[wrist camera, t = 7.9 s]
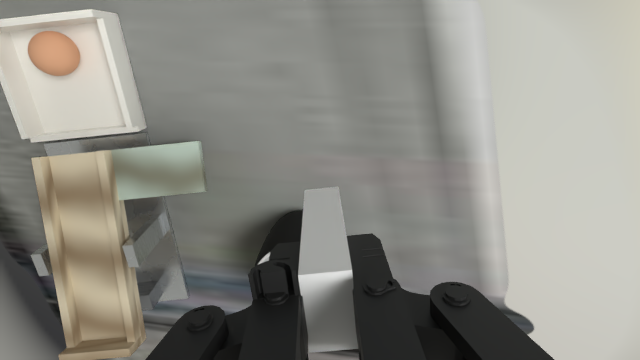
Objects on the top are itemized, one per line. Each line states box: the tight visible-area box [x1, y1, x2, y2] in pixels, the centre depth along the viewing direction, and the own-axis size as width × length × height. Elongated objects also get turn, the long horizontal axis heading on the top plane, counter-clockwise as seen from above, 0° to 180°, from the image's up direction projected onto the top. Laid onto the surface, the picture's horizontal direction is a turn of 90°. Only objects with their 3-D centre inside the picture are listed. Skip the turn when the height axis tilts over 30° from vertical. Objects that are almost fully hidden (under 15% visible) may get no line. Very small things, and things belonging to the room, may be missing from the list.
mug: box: [255, 211, 303, 266], centre depth 40 cm, size 12×9×10 cm
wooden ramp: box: [31, 141, 207, 360], centre depth 37 cm, size 20×16×4 cm
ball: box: [28, 31, 80, 76], centre depth 35 cm, size 4×4×4 cm
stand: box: [31, 132, 190, 311], centre depth 40 cm, size 21×11×8 cm, turn 6°
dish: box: [0, 9, 147, 143], centre depth 36 cm, size 11×11×4 cm
